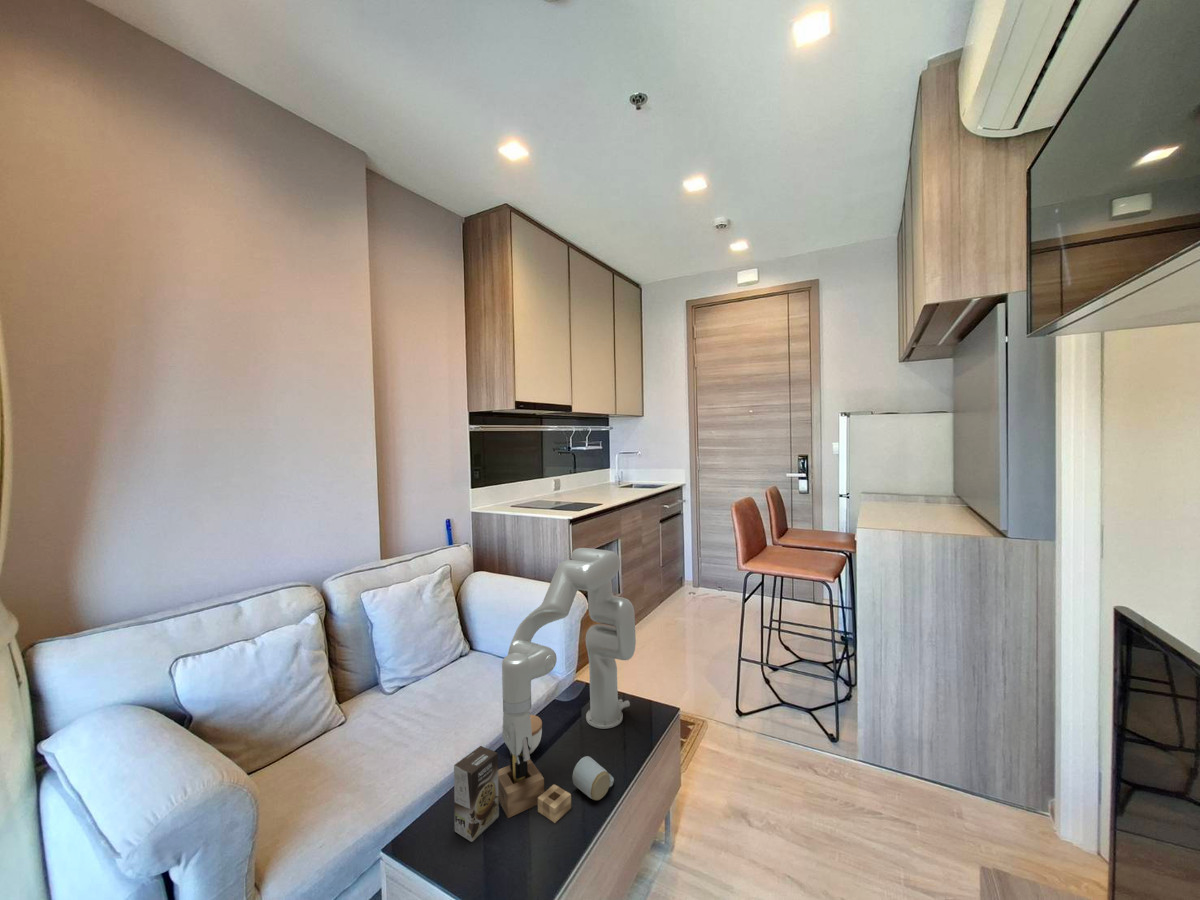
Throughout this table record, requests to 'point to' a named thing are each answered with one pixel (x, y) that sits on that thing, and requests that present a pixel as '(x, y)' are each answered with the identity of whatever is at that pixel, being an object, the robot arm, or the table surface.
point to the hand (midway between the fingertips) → (518, 771)
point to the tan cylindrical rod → (514, 770)
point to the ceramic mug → (591, 778)
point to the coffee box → (476, 792)
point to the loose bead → (554, 803)
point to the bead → (519, 790)
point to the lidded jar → (535, 731)
